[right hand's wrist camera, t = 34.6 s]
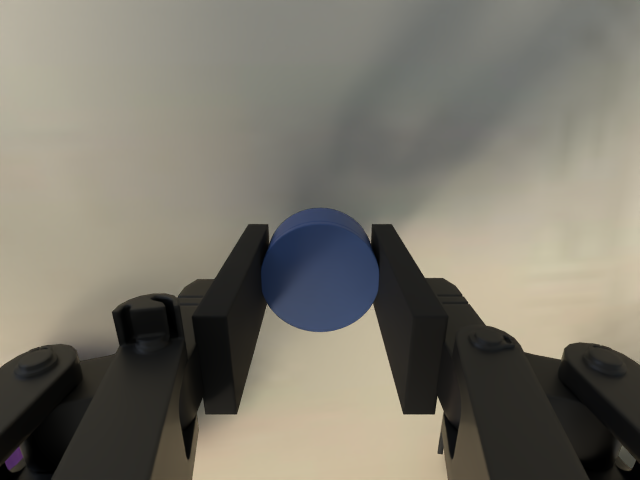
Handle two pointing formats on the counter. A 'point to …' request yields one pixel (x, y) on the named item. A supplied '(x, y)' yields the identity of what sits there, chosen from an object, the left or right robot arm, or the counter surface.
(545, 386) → the right robot arm
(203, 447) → the counter surface
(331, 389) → the counter surface
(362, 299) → the cap
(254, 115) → the counter surface
